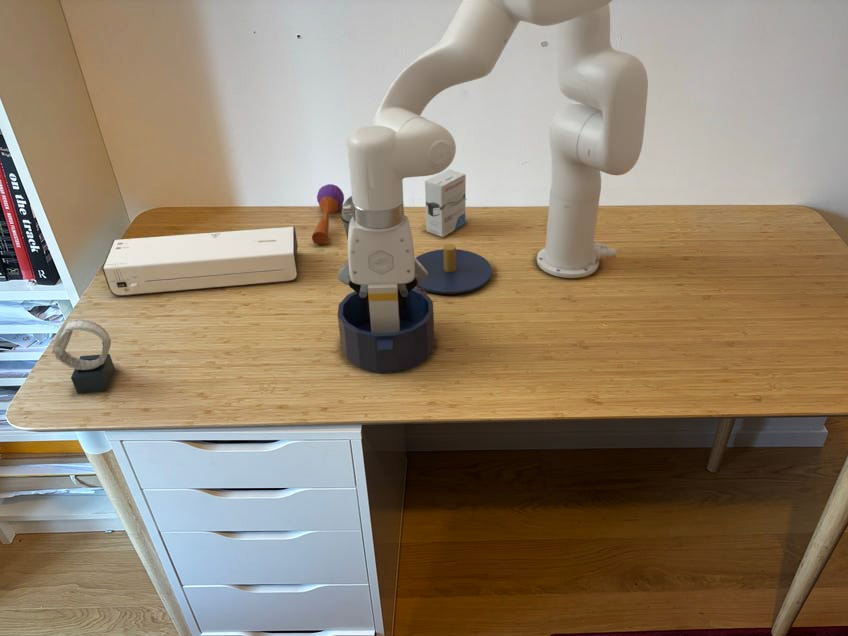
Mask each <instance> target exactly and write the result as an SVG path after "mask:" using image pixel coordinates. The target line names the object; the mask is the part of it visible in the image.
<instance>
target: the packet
mask: <svg viewBox="0 0 848 636" xmlns="http://www.w3.org/2000/svg"><path fill="white" fill-rule="evenodd" d="M398 289H399V288H398V285H397V284H368V298H369V307H370V320H371V332H373V333H392V332H398V331H400V317H399V306H398Z"/></svg>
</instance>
